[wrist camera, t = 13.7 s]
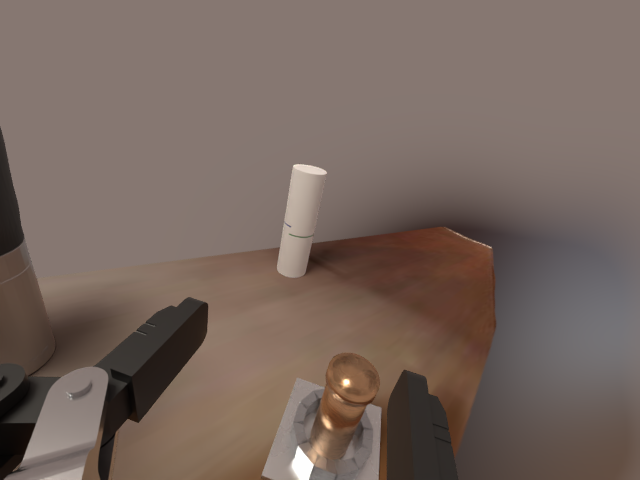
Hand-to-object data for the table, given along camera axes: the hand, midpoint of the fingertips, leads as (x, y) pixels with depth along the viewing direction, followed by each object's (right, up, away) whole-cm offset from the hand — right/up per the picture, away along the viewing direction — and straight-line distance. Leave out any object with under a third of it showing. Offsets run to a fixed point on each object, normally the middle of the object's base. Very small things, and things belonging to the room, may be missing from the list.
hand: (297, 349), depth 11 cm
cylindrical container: (-6, -3, +59) cm, 59 cm away
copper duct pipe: (+2, -21, +25) cm, 33 cm away
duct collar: (+2, -21, +25) cm, 33 cm away
